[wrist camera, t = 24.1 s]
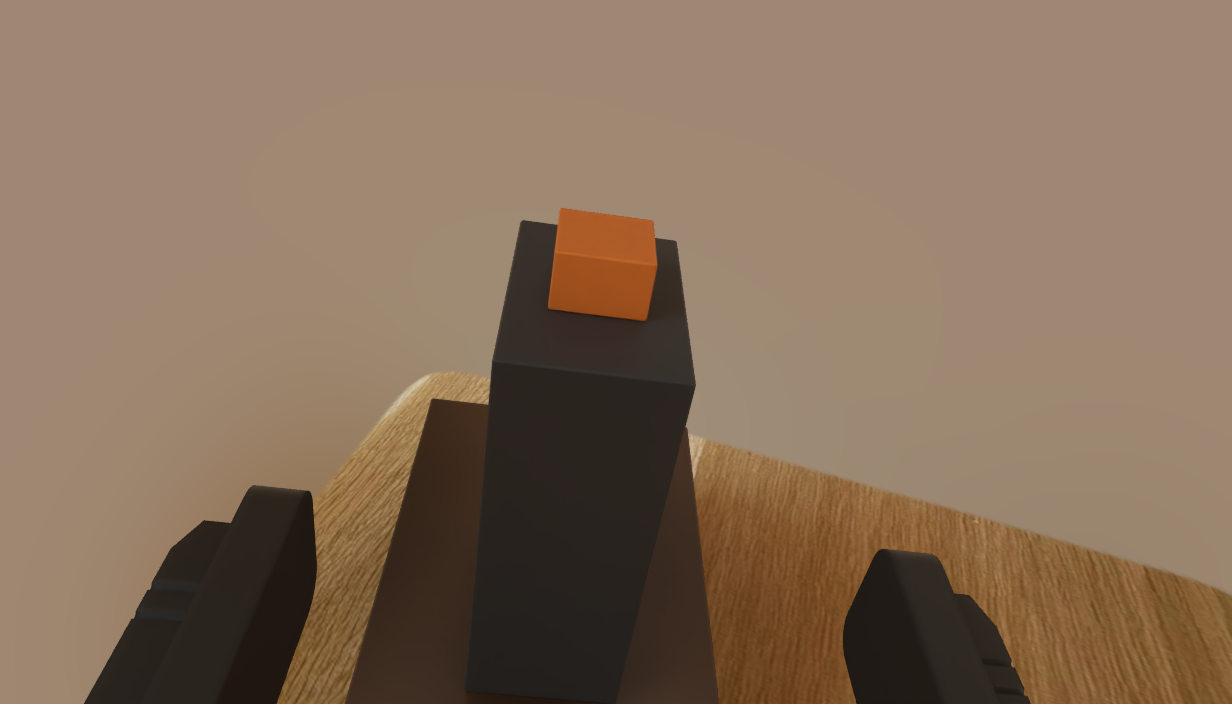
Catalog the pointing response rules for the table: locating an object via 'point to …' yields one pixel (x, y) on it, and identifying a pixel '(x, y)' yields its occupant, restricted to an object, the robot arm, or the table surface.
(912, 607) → the robot arm
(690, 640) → the shoe shelf
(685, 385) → the tall dark pillar
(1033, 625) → the table surface
